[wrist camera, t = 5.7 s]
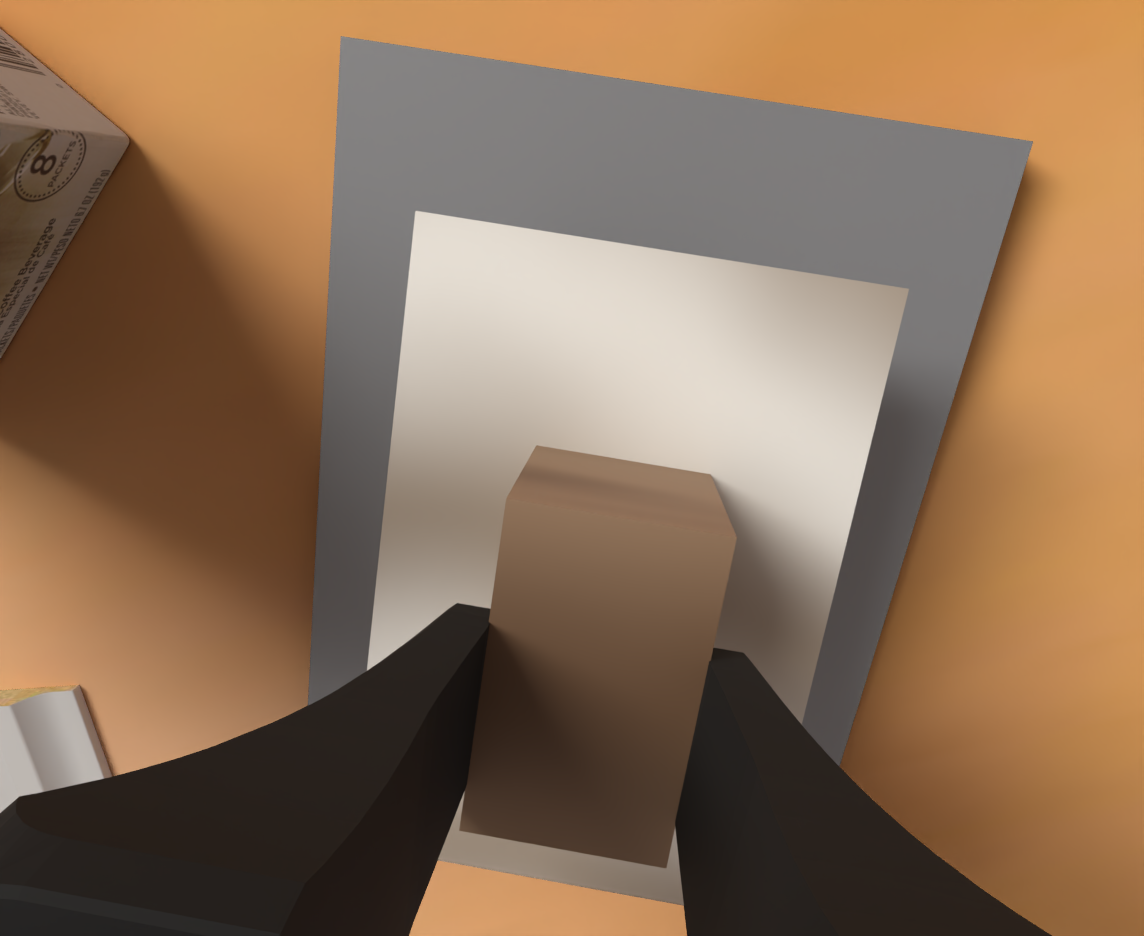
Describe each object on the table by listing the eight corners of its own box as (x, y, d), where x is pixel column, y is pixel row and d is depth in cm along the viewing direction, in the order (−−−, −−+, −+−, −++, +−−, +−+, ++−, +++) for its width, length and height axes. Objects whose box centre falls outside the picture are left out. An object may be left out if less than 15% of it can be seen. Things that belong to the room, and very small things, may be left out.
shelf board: (745, 874, 17) (788, 1095, 12) (367, 805, 17) (272, 995, 13) (886, 288, 14) (1009, 291, 10) (432, 216, 14) (340, 186, 10)
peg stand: (1011, 144, 17) (1116, 129, 13) (805, 826, 23) (837, 951, 19) (357, 44, 17) (278, 2, 14) (319, 738, 23) (255, 843, 20)
